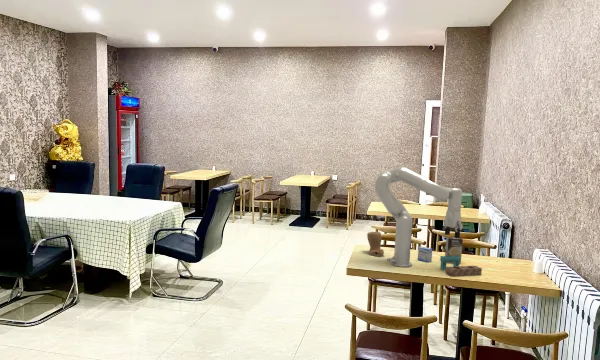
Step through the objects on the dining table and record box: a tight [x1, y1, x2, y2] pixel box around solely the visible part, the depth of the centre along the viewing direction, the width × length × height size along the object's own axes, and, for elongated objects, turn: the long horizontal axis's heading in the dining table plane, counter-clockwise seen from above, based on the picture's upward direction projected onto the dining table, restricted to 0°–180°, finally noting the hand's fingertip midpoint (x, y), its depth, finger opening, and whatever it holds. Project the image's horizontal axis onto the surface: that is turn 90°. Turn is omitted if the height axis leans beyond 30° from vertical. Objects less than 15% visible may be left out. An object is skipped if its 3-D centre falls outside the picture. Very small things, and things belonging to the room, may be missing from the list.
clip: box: [439, 255, 460, 271], centre depth 282 cm, size 12×3×8 cm, turn 107°
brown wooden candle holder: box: [445, 265, 483, 277], centre depth 273 cm, size 20×6×4 cm, turn 107°
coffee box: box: [444, 236, 464, 265], centre depth 299 cm, size 9×6×16 cm
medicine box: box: [417, 245, 433, 263], centre depth 300 cm, size 8×4×9 cm, turn 47°
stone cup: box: [366, 231, 385, 257], centre depth 312 cm, size 15×12×15 cm
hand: (452, 236), depth 281 cm, fingers open, 9 cm apart
